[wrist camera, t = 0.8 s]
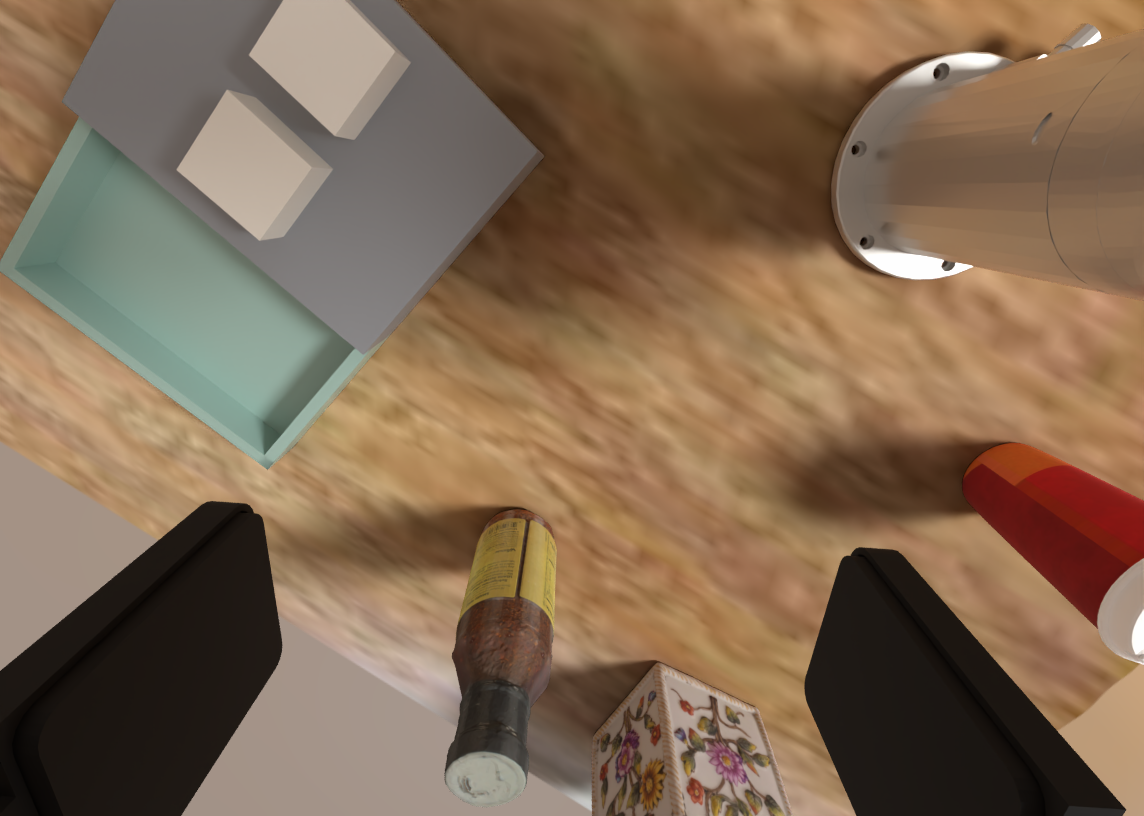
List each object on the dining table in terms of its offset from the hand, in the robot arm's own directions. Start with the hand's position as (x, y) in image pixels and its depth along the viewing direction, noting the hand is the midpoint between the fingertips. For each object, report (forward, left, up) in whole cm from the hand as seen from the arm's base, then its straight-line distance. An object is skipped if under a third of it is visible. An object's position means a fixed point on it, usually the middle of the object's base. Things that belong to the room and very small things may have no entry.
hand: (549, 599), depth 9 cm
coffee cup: (-12, +33, -31) cm, 47 cm away
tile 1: (0, -17, -26) cm, 31 cm away
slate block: (+4, -17, -31) cm, 35 cm away
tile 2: (+7, -17, -26) cm, 32 cm away
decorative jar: (+23, +35, -31) cm, 52 cm away
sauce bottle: (+18, +11, -31) cm, 37 cm away
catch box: (+18, -17, -31) cm, 39 cm away
